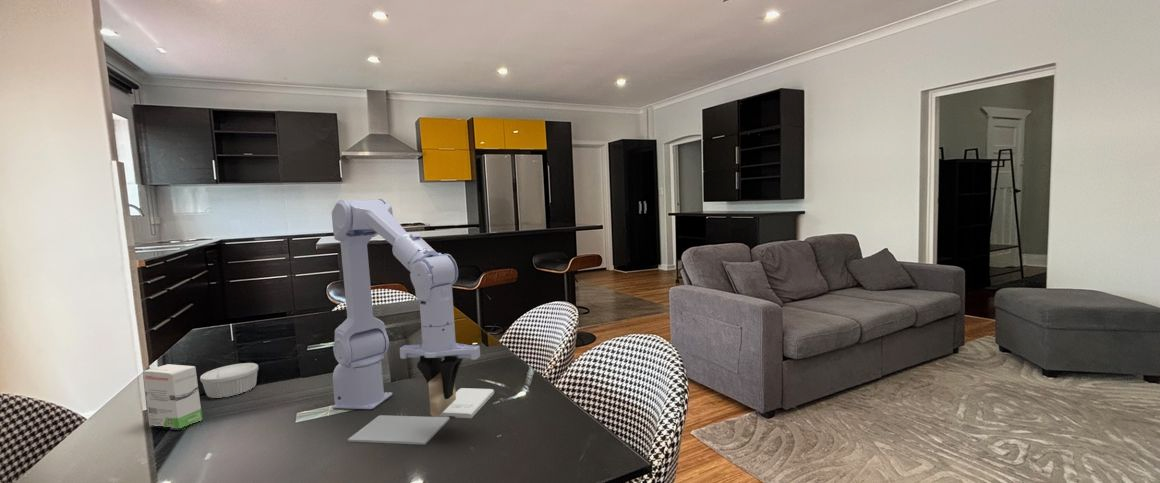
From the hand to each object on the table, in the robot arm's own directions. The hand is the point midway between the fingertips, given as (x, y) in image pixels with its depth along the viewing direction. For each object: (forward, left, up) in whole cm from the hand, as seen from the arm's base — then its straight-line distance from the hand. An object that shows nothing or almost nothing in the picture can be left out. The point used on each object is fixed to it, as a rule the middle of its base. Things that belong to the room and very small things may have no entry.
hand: (442, 396), depth 88 cm
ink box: (-58, 0, -7) cm, 59 cm away
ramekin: (-62, +17, -7) cm, 65 cm away
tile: (0, 0, -2) cm, 2 cm away
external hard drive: (-2, +13, -8) cm, 15 cm away
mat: (-9, +1, -7) cm, 12 cm away
